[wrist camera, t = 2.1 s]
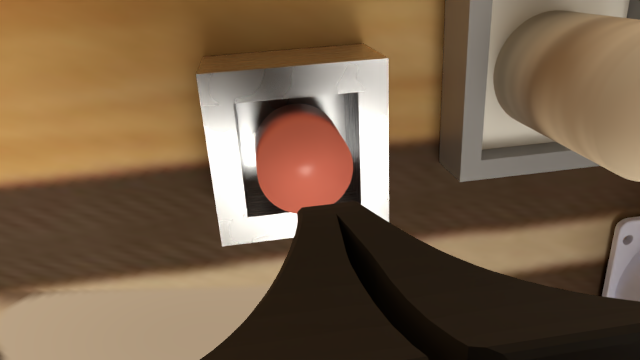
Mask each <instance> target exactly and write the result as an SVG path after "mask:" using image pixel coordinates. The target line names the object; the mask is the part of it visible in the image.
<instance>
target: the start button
mask: <svg viewBox="0 0 640 360" xmlns="http://www.w3.org/2000/svg"><path fill="white" fill-rule="evenodd" d="M255 156H256V167H257V177H258V182H259V185H260V188H261V189H262V191H263V193H264V195H265V196H266V197H267V198H268V200H269V201H270V202H272V203H273V204H274V205H275V206H277V207H279V208H280V209H282V210H285V211H288V212H291V213H296V214H297V212H298V211H299V210H300V209H301V208H302V207H310V206H319V205H327V204H334V203H335V202H337V201H338V200H339V199H340V198H341V197H342V195H343V194H344V193H345V191H346V190H347V188H348V186H349V184H350V182H351V178H352V174H353V159H352V155H351V152H350V150H349V148H348V146H347V144H346V142H345V141H344V139H343V138H342V136H341V135H340V133H339V131H338V130H337V128H336V127H335V125H334V123H333V122H332V120H331V119H330V118H329V117H328V116H327V115H326V114H325V113H324V112H323V111H321V110H320V109H318V108H316V107H313V106H311V105H307V104H289V105H285V106H282V107H280V108H278V109H276V110H274V111H273V112H271V113H270V114H269V115H268V116H267V117H266V118H265V119H264V120H263V122H262V123H261V124H260V126H259V128H258V131H257V133H256V137H255Z"/></svg>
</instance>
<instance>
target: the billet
mask: <svg viewBox="0 0 640 360" xmlns="http://www.w3.org/2000/svg"><path fill="white" fill-rule="evenodd" d="M493 83H494V91H495V95H496V98H497V100H498V103H499V104H500V106H501V108H502V109H503V110H504V111H505V113H506V114H508V115H509V116H510V117H511V118H513V119H514V120H516V121H518V122H520V123H522V124H524V125H525V126H527V127H529V128H531V129H533V130H535V131H537V132H538V133H540V134H542V135H544V136H546V137H548V138H550V139H552V140H553V141H555V142H557V143H559V144H561V145H563V146H565V147H567V148H568V149H570V150H572V151H574V152H576V153H578V154H580V155H581V156H583V157H585V158H587V159H589V160H591V161H593V162H595V163H596V164H598V165H600V166H602V167H604V168H606V169H608V170H609V171H611V172H613V173H615V174H617V175H619V176H621V177H623V178H626V179H628V180H632V181H638V182H640V20H638V19H630V18H622V17H613V16H605V15H596V14H588V13H580V12H571V11H563V10H554V11H547V12H544V13H540V14H538V15H536V16H533V17H531V18H530V19H528V20H526V21H525V22H524V23H522V24H521V25H520V26H519V27H518V28H516V29H515V30H514V31H513V32H512V34H511V35H510V36H509V37H508V39H507V40H506V42H505V43H504V45H503V46H502V48H501V50H500V52H499V55H498V57H497V60H496V64H495V68H494V76H493Z"/></svg>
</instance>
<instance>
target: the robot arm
mask: <svg viewBox="0 0 640 360" xmlns="http://www.w3.org/2000/svg"><path fill="white" fill-rule="evenodd" d="M297 220H298V223H297V228H296V232H295V236H294V239H293V242H292V245H291V247H290V250H289V253H288V255H287V257H286V259H285V261H284V263H283V265H282V268H281V270H280V272H279V273H278V275H277V277H276V279H275V280H274V282H273V284H272V285H271V287H270V288H269V290H268V291H267V293H266V294H265V296H264V297H263V299H262V300H261V301H260V303H259V304H258V305H257V306H256V308H255V309H254V311H253V312H252V313H251V314H250V315H249V317H248V318H247V319H246V320H245V321H244V322H243V323H242V324H241V325H240V326H239V327H238V328H237V329H236V330H235V331H234V332H233V333H232V334H231V335H230V336H229V337H228V338H227V339H226V340H225V341H223V342H222V343H221V344H220V345H219V346H217V347H216V348H215V349H214V350H213V351H211V352H210V353H208V354H207V355H206V356H204V357H203V358H202V359H200V360H640V216H638V217H630V218H625V219H622V220H621V221H619V222H618V223H617V225H616V227H615V231H614V236H613V241H612V246H611V251H610V257H609V262H608V267H607V272H606V277H605V282H604V287H603V292H602V296H595V295H588V294H582V293H577V292H572V291H568V290H563V289H558V288H553V287H548V286H544V285H540V284H536V283H532V282H527V281H524V280H520V279H517V278H513V277H510V276H507V275H503V274H500V273H497V272H493V271H490V270H487V269H484V268H482V267H479V266H476V265H473V264H471V263H468V262H466V261H463V260H461V259H458V258H456V257H453V256H451V255H449V254H446V253H444V252H442V251H440V250H438V249H436V248H434V247H432V246H430V245H428V244H426V243H424V242H422V241H420V240H418V239H416V238H415V237H413V236H411V235H409V234H407V233H406V232H404V231H402V230H401V229H399V228H397V227H396V226H394V225H392V224H391V223H389V222H388V221H386V220H384V219H383V218H381V217H380V216H378V215H377V214H375V213H374V212H372V211H370V210H369V209H367V208H366V207H364V206H363V205H361V204H359V203H357V202H356V201H353V202H344V203H336V204H327V205H319V206H310V207H302V208H301V209H300V210H299V211H298V212H297ZM626 236H627V237H626ZM625 237H626V238H625ZM624 238H625V239H624ZM623 239H624V240H623Z"/></svg>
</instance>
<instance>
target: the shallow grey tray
mask: <svg viewBox="0 0 640 360" xmlns="http://www.w3.org/2000/svg"><path fill="white" fill-rule="evenodd" d="M554 10H563V11H571V12H580V13H588V14H596V15H605V16H613V17H622V18H630V19H638V20H640V0H445V24H444V50H443V76H442V102H441V128H440V154H439V163H441V164H442V165H443V166H444V167H445V168H446V169H447V170H448V171H449V172H450V173H451V174H452V175H453V176H454V177H455V178H456V179H457V180H458V181H459V182H464V181H472V180H481V179H490V178H498V177H507V176H516V175H524V174H533V173H542V172H550V171H559V170H567V169H576V168H585V167H593V166H600V165H598V164H596V163H595V162H593V161H591V160H589V159H587V158H585V157H583V156H581V155H580V154H578V153H576V152H574V151H572V150H570V149H568V148H567V147H565V146H563V145H561V144H559V143H557V142H555V141H553V140H552V139H550V138H548V137H546V136H544V135H542V134H540V133H538V132H537V131H535V130H533V129H531V128H529V127H527V126H525V125H524V124H522V123H520V122H518V121H516V120H514V119H513V118H511V117H510V116H509V115H508V114H506V113H505V111H504V110H503V109H502V108H501V106H500V104H499V103H498V100H497V98H496V95H495V91H494V83H493V76H494V68H495V64H496V60H497V57H498V55H499V52H500V50H501V48H502V46H503V45H504V43H505V42H506V40H507V39H508V37H509V36H510V35H511V34H512V32H513V31H514V30H515V29H516V28H518V27H519V26H520V25H521V24H522V23H524V22H525V21H526V20H528V19H530V18H531V17H533V16H536V15H538V14H540V13H544V12H547V11H554Z"/></svg>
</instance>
